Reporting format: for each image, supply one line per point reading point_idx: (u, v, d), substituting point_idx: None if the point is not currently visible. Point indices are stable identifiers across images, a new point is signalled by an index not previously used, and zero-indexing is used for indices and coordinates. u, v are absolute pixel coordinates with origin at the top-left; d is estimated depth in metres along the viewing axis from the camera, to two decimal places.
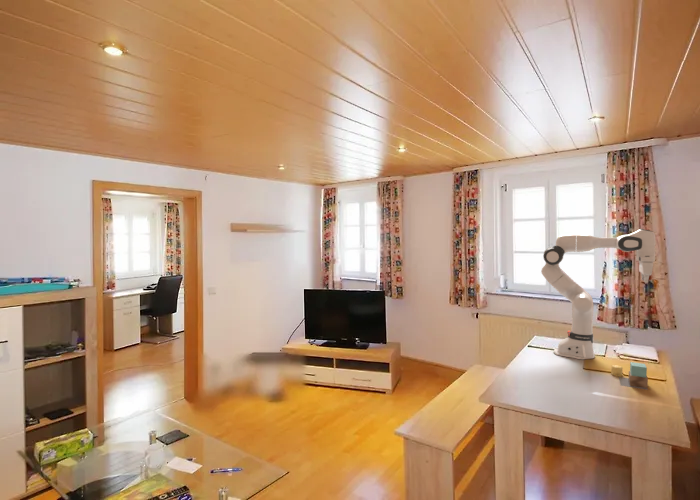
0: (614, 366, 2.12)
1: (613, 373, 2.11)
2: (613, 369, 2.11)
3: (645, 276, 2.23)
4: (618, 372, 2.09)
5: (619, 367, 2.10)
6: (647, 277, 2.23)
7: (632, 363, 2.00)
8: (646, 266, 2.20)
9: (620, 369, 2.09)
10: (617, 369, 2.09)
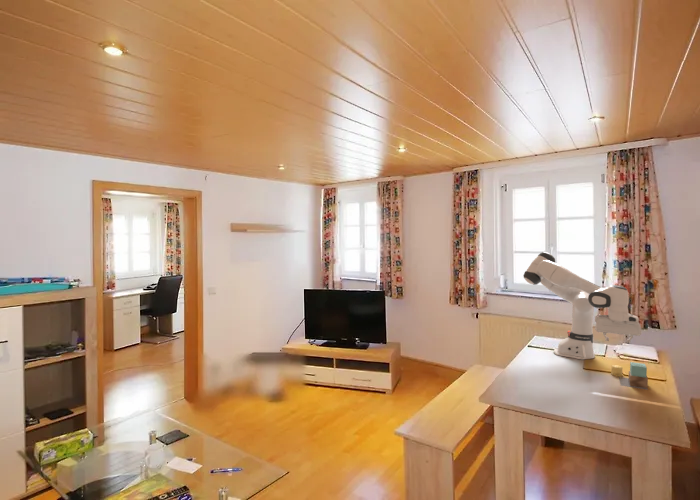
0: (614, 366, 2.12)
1: (613, 373, 2.11)
2: (613, 369, 2.11)
3: (632, 336, 2.07)
4: (617, 372, 2.09)
5: (619, 367, 2.10)
6: None
7: (632, 363, 2.00)
8: (640, 326, 2.05)
9: (620, 369, 2.09)
10: (617, 369, 2.09)
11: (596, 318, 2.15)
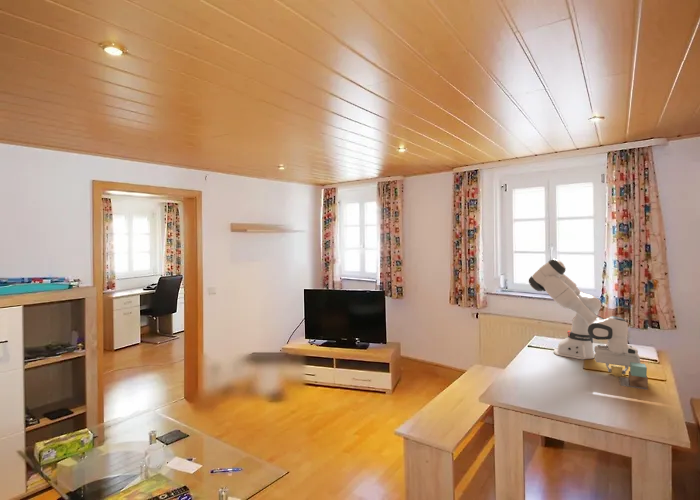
0: (614, 366, 2.12)
1: (613, 373, 2.11)
2: (613, 369, 2.11)
3: (628, 367, 2.08)
4: (617, 372, 2.09)
5: (619, 367, 2.10)
6: None
7: (632, 363, 2.00)
8: (639, 358, 2.06)
9: (620, 369, 2.09)
10: (617, 369, 2.09)
11: (595, 348, 2.15)
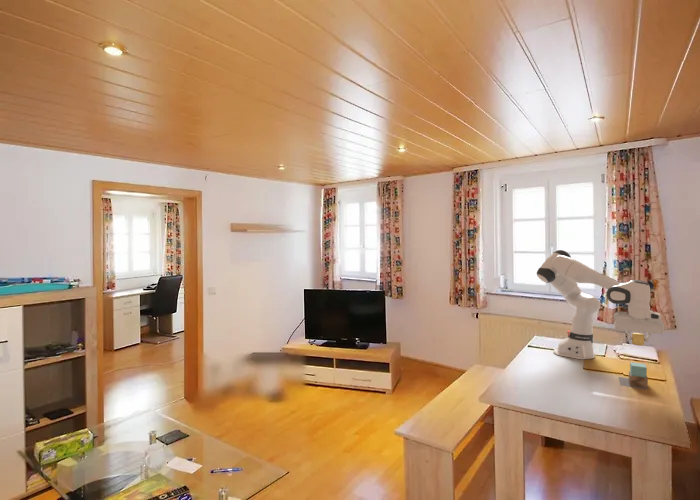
0: (635, 333, 1.97)
1: (634, 341, 1.96)
2: (634, 336, 1.96)
3: (650, 334, 1.94)
4: (639, 340, 1.95)
5: (641, 334, 1.96)
6: None
7: (632, 363, 2.00)
8: None
9: (642, 336, 1.94)
10: (638, 336, 1.95)
11: (615, 315, 2.01)
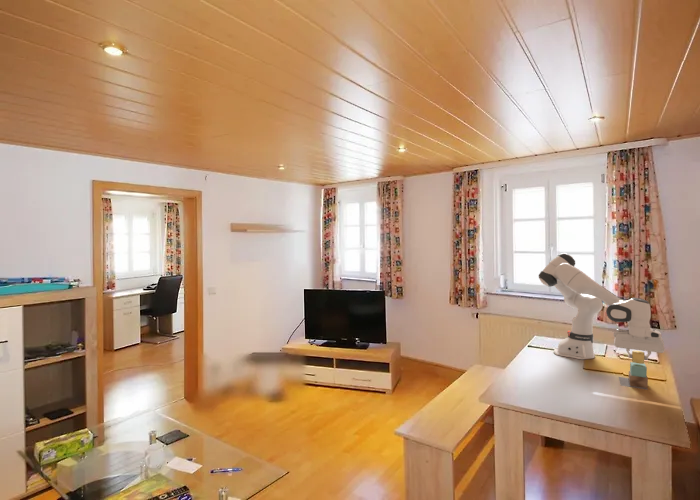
0: (635, 351, 1.98)
1: (634, 359, 1.97)
2: (634, 354, 1.97)
3: None
4: (639, 358, 1.95)
5: (641, 352, 1.96)
6: None
7: (632, 363, 2.00)
8: None
9: (642, 354, 1.95)
10: (639, 354, 1.95)
11: (615, 333, 2.01)
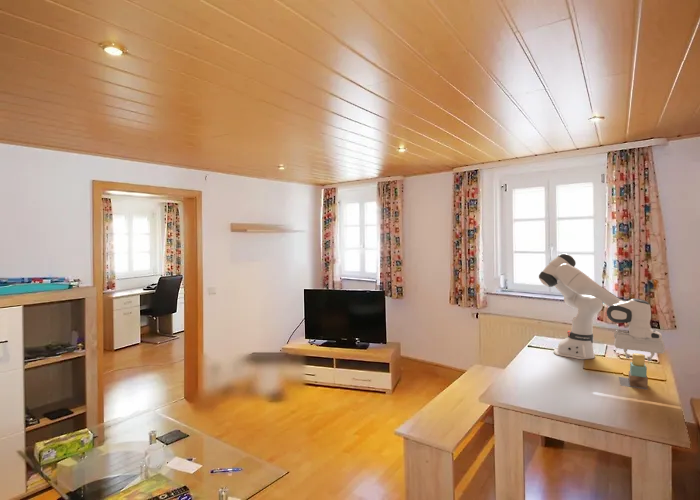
0: (636, 354, 1.98)
1: (635, 361, 1.97)
2: (635, 357, 1.97)
3: None
4: (639, 361, 1.95)
5: (641, 355, 1.96)
6: None
7: None
8: (663, 343, 1.91)
9: (642, 357, 1.95)
10: (639, 357, 1.95)
11: (615, 333, 2.01)
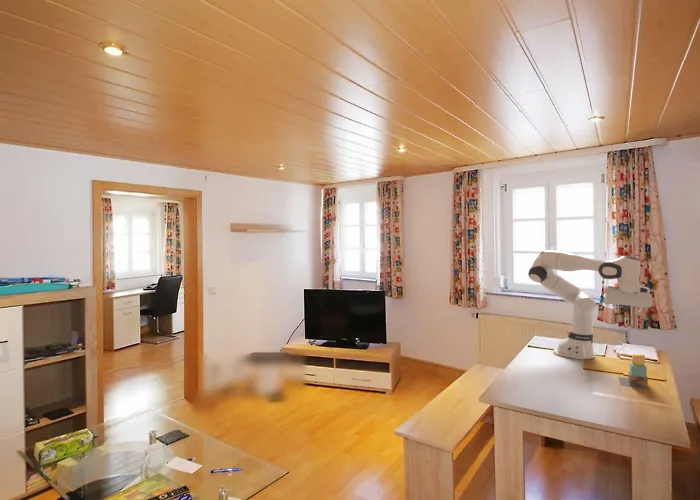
0: (636, 354, 1.98)
1: (635, 361, 1.97)
2: (635, 357, 1.97)
3: None
4: (639, 361, 1.95)
5: (641, 355, 1.96)
6: None
7: None
8: (651, 297, 2.00)
9: (642, 357, 1.95)
10: (639, 357, 1.95)
11: (606, 290, 2.09)
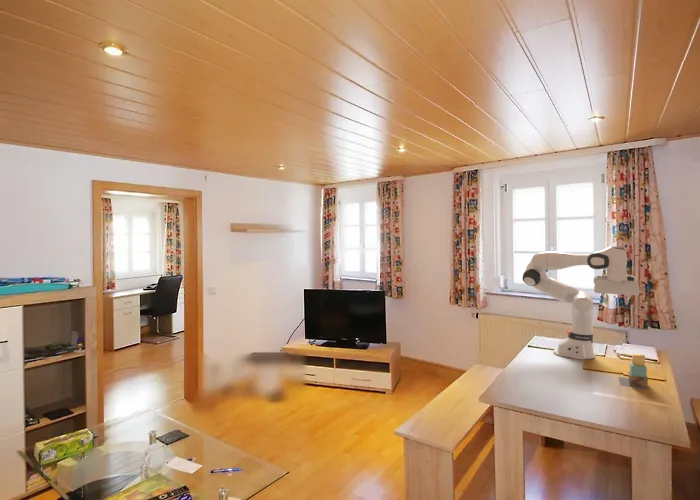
0: (636, 354, 1.98)
1: (635, 361, 1.97)
2: (635, 357, 1.97)
3: (630, 296, 2.09)
4: (639, 361, 1.95)
5: (641, 355, 1.96)
6: None
7: None
8: (638, 285, 2.07)
9: (642, 357, 1.95)
10: (639, 357, 1.95)
11: (595, 279, 2.16)
